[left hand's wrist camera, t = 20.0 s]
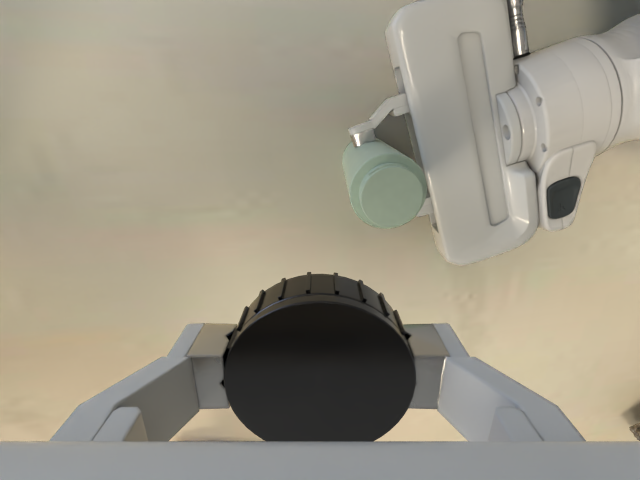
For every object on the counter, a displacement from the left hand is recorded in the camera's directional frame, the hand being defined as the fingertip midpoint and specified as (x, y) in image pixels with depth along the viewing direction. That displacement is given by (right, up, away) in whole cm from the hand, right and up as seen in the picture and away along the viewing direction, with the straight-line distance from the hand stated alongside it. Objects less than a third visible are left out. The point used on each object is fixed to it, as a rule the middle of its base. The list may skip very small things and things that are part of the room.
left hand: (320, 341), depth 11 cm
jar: (+4, +11, +22) cm, 25 cm away
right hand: (+3, +9, +17) cm, 20 cm away
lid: (0, -1, -1) cm, 2 cm away
